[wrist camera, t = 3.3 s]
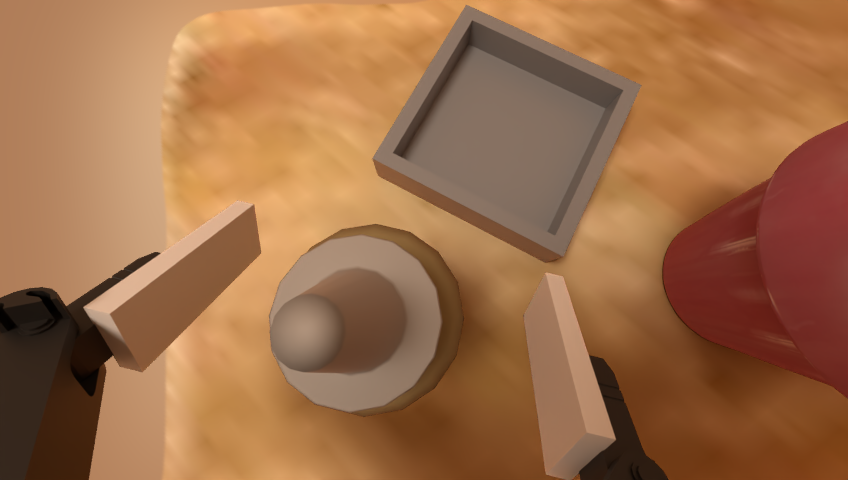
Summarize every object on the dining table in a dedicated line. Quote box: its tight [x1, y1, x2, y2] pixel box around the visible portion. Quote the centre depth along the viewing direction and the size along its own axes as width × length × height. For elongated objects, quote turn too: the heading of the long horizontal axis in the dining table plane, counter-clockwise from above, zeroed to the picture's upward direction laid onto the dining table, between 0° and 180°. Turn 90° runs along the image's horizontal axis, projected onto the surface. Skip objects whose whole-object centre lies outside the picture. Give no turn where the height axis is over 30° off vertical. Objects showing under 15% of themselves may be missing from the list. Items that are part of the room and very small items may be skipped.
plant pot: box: [663, 121, 848, 398], centre depth 17 cm, size 14×14×13 cm
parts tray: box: [372, 5, 641, 262], centre depth 24 cm, size 14×14×3 cm
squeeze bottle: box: [269, 224, 464, 417], centre depth 14 cm, size 8×8×18 cm
